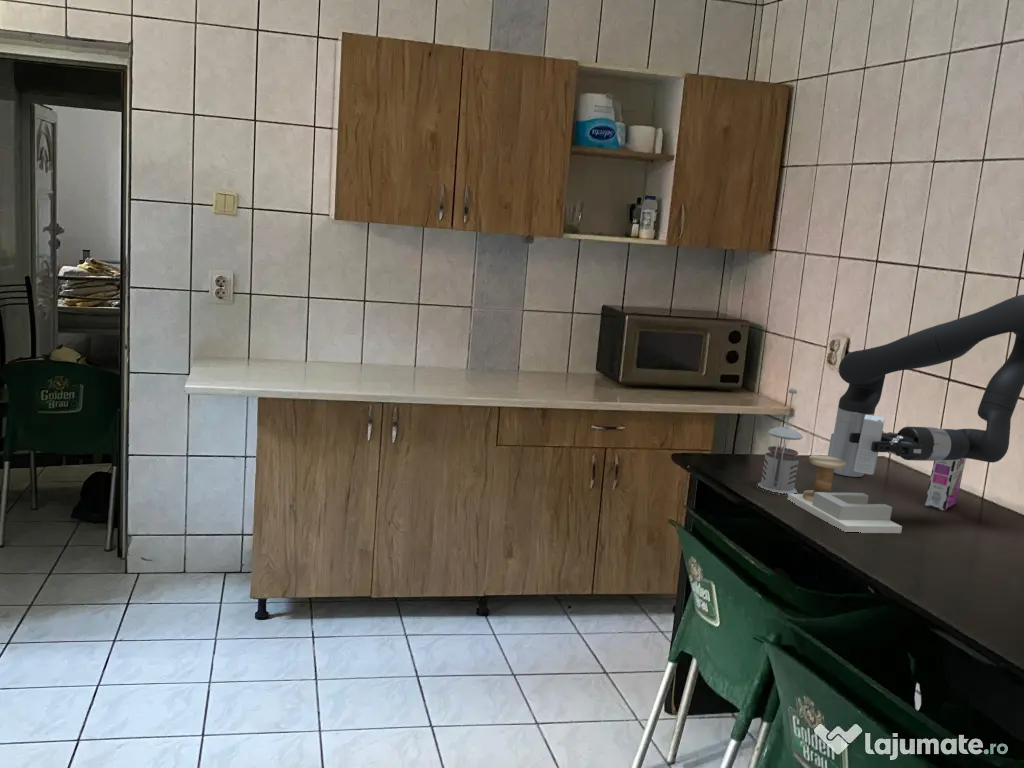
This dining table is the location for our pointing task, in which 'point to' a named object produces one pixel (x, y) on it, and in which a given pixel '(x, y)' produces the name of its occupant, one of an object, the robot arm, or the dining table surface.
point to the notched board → (846, 523)
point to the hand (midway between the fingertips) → (861, 442)
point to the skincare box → (868, 444)
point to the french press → (781, 461)
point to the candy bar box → (944, 483)
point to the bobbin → (823, 474)
